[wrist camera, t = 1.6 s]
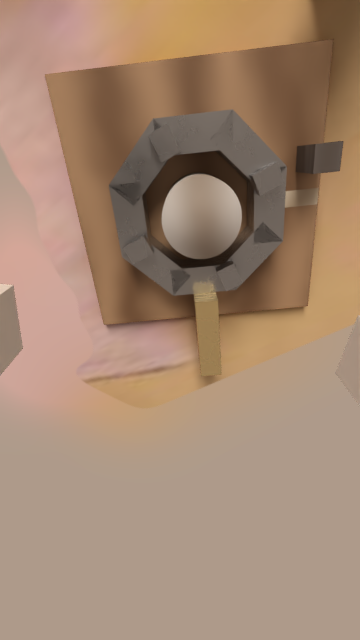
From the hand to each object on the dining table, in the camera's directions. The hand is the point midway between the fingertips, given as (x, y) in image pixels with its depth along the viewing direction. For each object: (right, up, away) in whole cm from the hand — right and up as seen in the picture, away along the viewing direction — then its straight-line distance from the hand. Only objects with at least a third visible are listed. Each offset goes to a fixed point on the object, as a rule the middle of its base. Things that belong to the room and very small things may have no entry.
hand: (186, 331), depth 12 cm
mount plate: (+1, +11, +17) cm, 21 cm away
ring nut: (+2, +7, +18) cm, 20 cm away
